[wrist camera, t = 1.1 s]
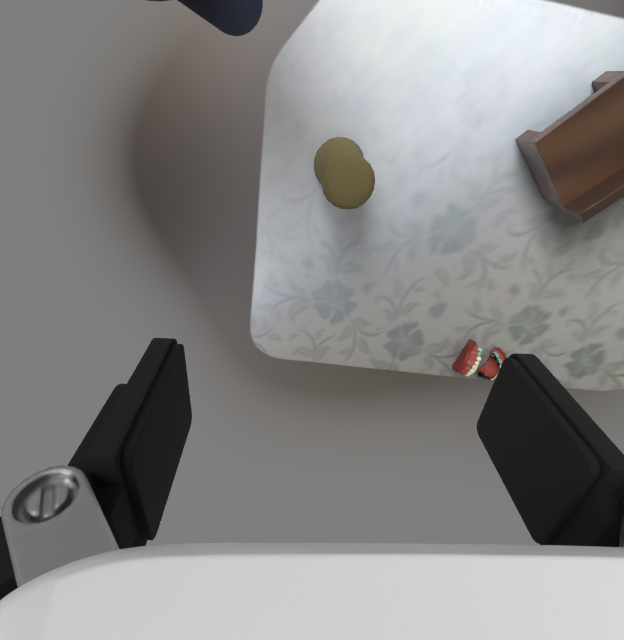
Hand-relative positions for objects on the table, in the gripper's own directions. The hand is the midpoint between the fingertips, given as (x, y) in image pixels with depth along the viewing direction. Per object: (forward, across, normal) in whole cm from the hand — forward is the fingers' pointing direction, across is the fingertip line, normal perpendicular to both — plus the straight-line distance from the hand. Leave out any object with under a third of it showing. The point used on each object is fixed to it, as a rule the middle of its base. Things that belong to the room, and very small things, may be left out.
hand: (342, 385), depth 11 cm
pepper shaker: (+40, -4, 0) cm, 40 cm away
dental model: (+38, -33, +29) cm, 58 cm away
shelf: (+40, -31, -4) cm, 51 cm away
